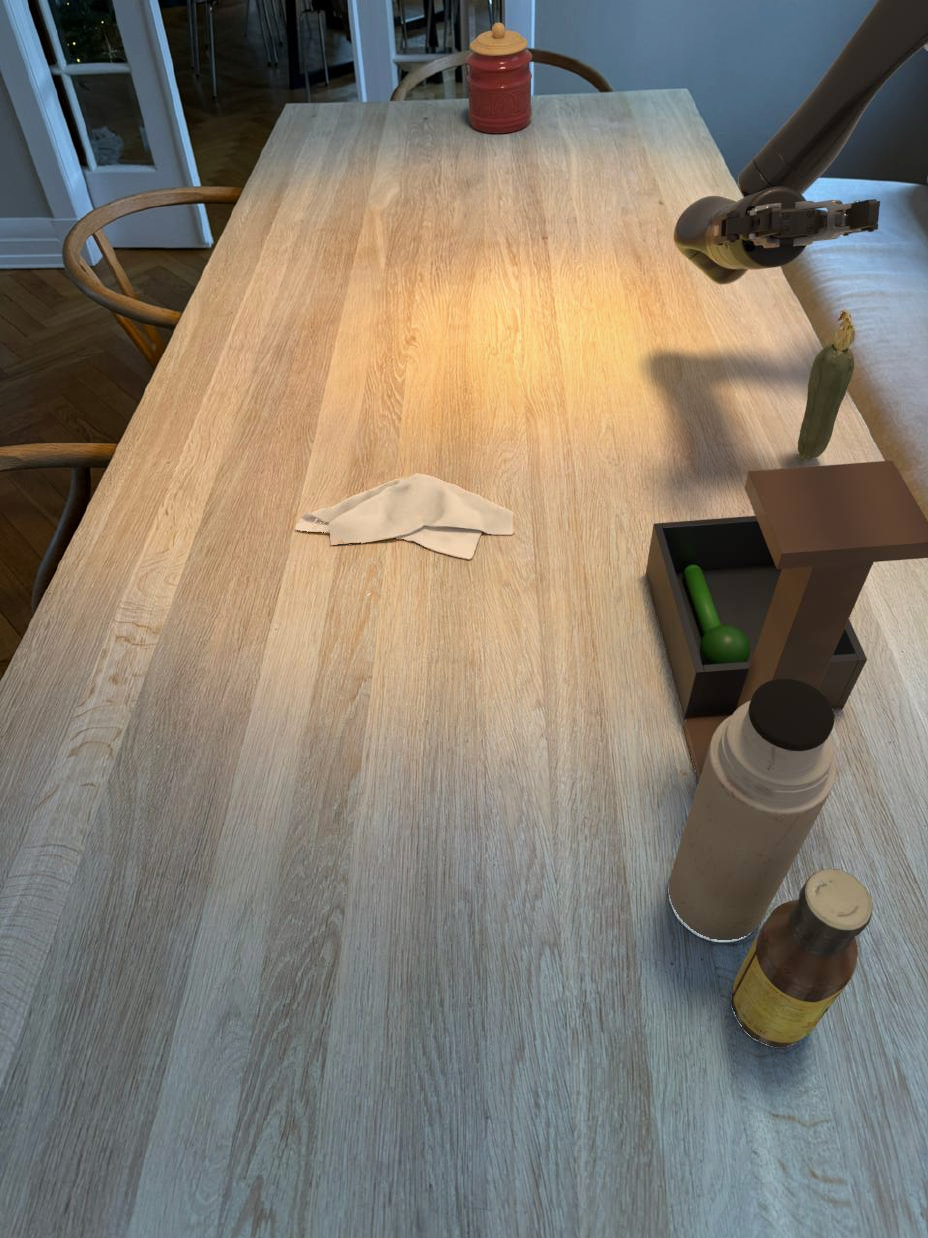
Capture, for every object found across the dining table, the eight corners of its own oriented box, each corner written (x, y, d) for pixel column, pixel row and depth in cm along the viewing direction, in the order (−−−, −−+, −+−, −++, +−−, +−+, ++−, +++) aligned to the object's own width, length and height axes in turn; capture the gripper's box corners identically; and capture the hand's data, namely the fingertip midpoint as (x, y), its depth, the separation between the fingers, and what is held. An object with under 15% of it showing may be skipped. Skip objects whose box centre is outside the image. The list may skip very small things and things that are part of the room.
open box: (784, 563, 98) (801, 511, 92) (843, 708, 86) (867, 659, 80) (645, 574, 98) (653, 523, 92) (683, 720, 86) (695, 672, 80)
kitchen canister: (502, 104, 188) (501, 7, 174) (544, 120, 181) (546, 21, 168) (456, 122, 183) (450, 24, 169) (497, 140, 176) (495, 39, 162)
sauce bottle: (814, 1057, 66) (903, 965, 51) (729, 1044, 67) (790, 949, 52) (807, 970, 70) (886, 861, 55) (726, 959, 71) (782, 848, 56)
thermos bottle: (700, 835, 78) (766, 635, 56) (782, 891, 74) (887, 700, 53) (648, 901, 74) (699, 714, 53) (732, 964, 70) (823, 791, 49)
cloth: (525, 488, 109) (525, 474, 107) (504, 568, 100) (504, 554, 98) (325, 466, 113) (322, 452, 111) (289, 540, 105) (285, 527, 103)
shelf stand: (786, 718, 85) (892, 459, 61) (812, 792, 80) (939, 541, 56) (683, 726, 85) (748, 470, 61) (702, 800, 80) (782, 553, 56)
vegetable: (823, 475, 107) (873, 328, 92) (786, 472, 108) (830, 326, 93) (819, 451, 110) (867, 305, 95) (783, 449, 111) (825, 303, 96)
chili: (710, 571, 97) (718, 540, 93) (756, 698, 86) (768, 668, 82) (667, 575, 97) (674, 544, 93) (708, 702, 86) (717, 673, 82)
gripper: (694, 196, 92) (745, 174, 76) (831, 186, 91) (909, 162, 76) (693, 273, 94) (742, 267, 79) (826, 263, 94) (901, 255, 79)
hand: (824, 216), depth 78 cm, fingers open, 8 cm apart
